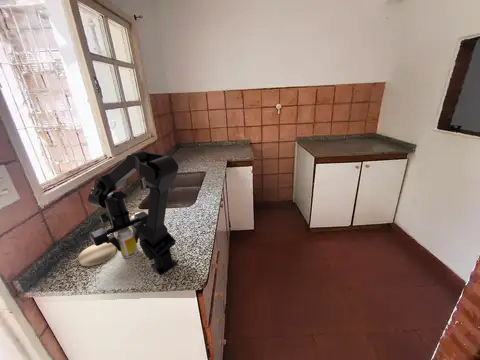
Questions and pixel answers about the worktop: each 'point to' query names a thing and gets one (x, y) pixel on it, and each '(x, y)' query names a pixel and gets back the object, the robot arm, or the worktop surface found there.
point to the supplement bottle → (127, 243)
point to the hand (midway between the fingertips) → (128, 246)
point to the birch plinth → (96, 254)
